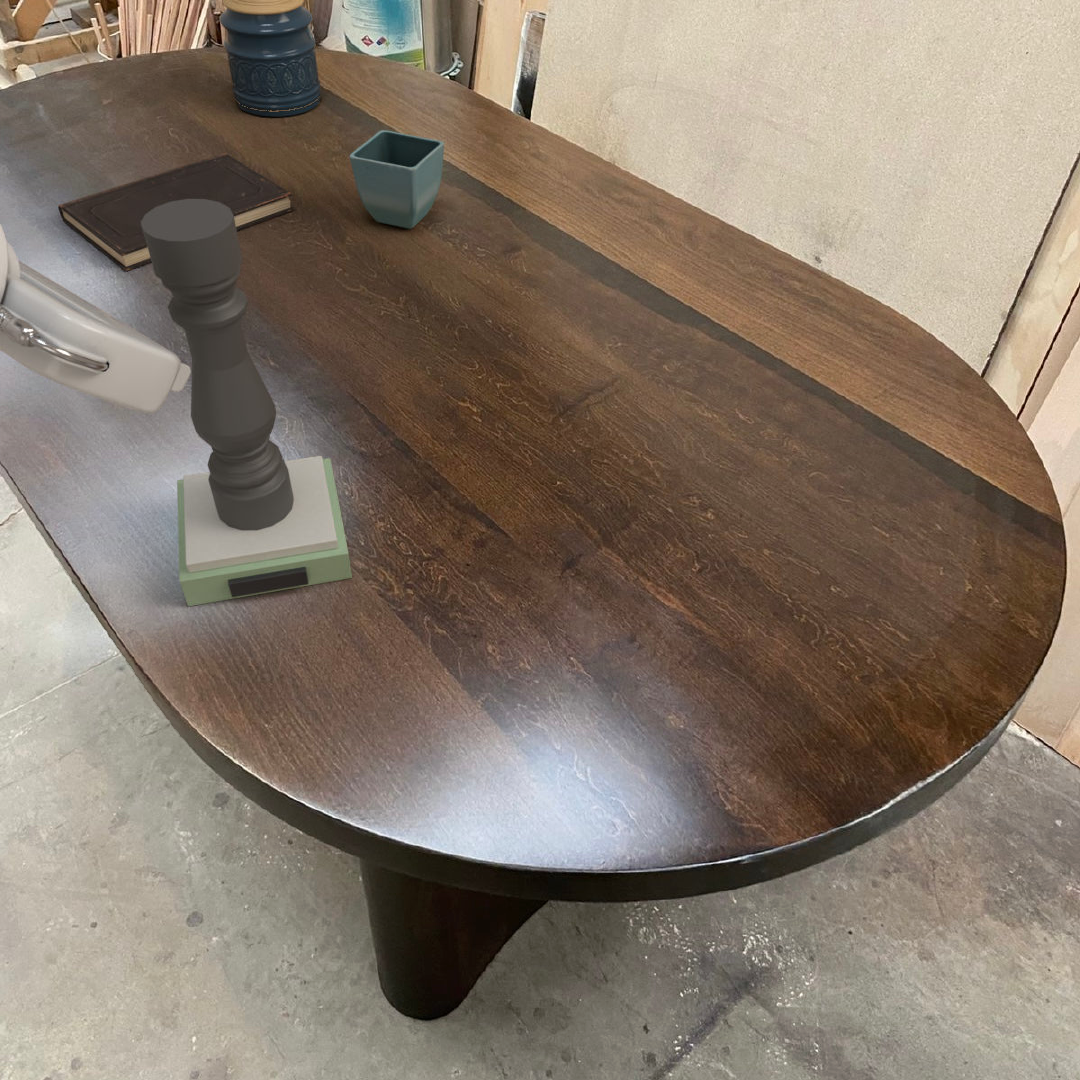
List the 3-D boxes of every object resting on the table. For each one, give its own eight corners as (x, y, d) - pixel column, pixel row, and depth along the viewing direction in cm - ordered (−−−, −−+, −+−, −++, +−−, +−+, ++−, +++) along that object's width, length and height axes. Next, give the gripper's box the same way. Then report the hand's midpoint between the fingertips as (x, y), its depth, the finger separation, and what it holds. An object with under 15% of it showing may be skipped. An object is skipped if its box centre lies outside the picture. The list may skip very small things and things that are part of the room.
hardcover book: (294, 210, 123) (291, 193, 121) (126, 271, 111) (120, 253, 109) (226, 167, 130) (222, 151, 129) (62, 220, 118) (56, 203, 117)
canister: (304, 79, 153) (288, -47, 140) (335, 109, 145) (320, -21, 132) (223, 93, 148) (199, -37, 135) (250, 124, 140) (227, -10, 127)
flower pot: (386, 196, 126) (381, 127, 120) (448, 209, 124) (446, 140, 118) (354, 226, 120) (347, 155, 114) (418, 240, 118) (414, 169, 112)
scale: (188, 611, 76) (176, 577, 73) (184, 505, 84) (174, 471, 82) (353, 582, 79) (347, 548, 76) (334, 482, 87) (328, 448, 84)
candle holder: (279, 535, 77) (215, 248, 59) (204, 525, 77) (119, 237, 59) (304, 484, 81) (251, 202, 63) (233, 474, 81) (161, 192, 64)
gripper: (67, 286, 44) (263, 366, 57) (-157, 152, 53) (59, 248, 65) (12, 407, 45) (218, 460, 58) (-201, 257, 53) (21, 332, 66)
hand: (132, 347), depth 62 cm, fingers open, 8 cm apart
